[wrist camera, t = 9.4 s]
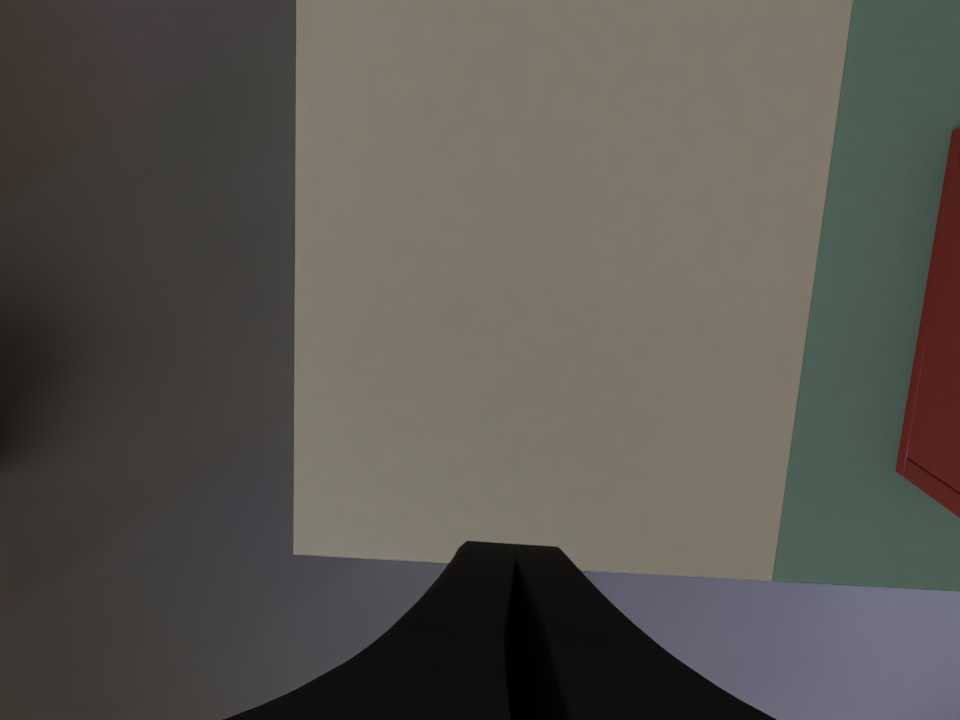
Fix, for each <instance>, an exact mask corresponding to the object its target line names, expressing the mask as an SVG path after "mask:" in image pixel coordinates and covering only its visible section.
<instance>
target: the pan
mask: <svg viewBox="0 0 960 720" xmlns="http://www.w3.org/2000/svg"><path fill="white" fill-rule="evenodd" d="M896 472H897V473H898V474H900V475H901V476H903V477H904V478H905V479H907V480H908V481H909V482H911V483H912V484H913V485H915V486H916V487H918V488H919V489H920V490H922V491H923V492H924V493H926V494H927V495H929V496H930V497H931V498H933V499H934V500H935V501H937V502H938V503H939V504H941V505H942V506H944V507H945V508H946V509H948V510H949V511H950V512H952V513H953V514H955V515H956V516H957V517H959V518H960V129H954V130H952V134H951V140H950V146H949V152H948V158H947V164H946V170H945V176H944V182H943V188H942V194H941V200H940V206H939V212H938V218H937V224H936V230H935V236H934V242H933V248H932V254H931V260H930V266H929V272H928V278H927V284H926V290H925V296H924V302H923V308H922V314H921V320H920V326H919V332H918V338H917V344H916V350H915V356H914V362H913V368H912V374H911V380H910V386H909V392H908V398H907V404H906V410H905V416H904V422H903V428H902V434H901V440H900V446H899V452H898V458H897V464H896Z"/></svg>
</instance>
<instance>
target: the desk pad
mask: <svg viewBox="0 0 960 720" xmlns="http://www.w3.org/2000/svg"><path fill="white" fill-rule="evenodd" d="M954 129H960V0H296V182H295V379H294V554H295V555H313V556H331V557H349V558H367V559H385V560H403V561H421V562H439V563H450V562H451V560H452V559H453V557H454V555H455V554H456V552H457V550H458V548H459V547H460V546H461V545H463V544H464V543H465V542H466V541H479V542H494V543H509V544H525V545H540V546H555V547H559V548H560V549H561V550H562V551H563V552H564V553H565V554H566V555H567V556H568V558H569V559H570V560H571V561H572V562H573V563H574V564H575V565H576V566H577V568H578V569H579V570H582V571H600V572H618V573H636V574H654V575H672V576H690V577H708V578H726V579H744V580H762V581H780V582H798V583H816V584H833V585H851V586H869V587H887V588H905V589H923V590H941V591H959V592H960V518H959V517H957V516H956V515H955V514H953V513H952V512H950V511H949V510H948V509H946V508H945V507H944V506H942V505H941V504H939V503H938V502H937V501H935V500H934V499H933V498H931V497H930V496H929V495H927V494H926V493H924V492H923V491H922V490H920V489H919V488H918V487H916V486H915V485H913V484H912V483H911V482H909V481H908V480H907V479H905V478H904V477H903V476H901V475H900V474H898V473H897V472H896V464H897V458H898V452H899V446H900V440H901V434H902V428H903V422H904V416H905V410H906V404H907V398H908V392H909V386H910V380H911V374H912V368H913V362H914V356H915V350H916V344H917V338H918V332H919V326H920V320H921V314H922V308H923V302H924V296H925V290H926V284H927V278H928V272H929V266H930V260H931V254H932V248H933V242H934V236H935V230H936V224H937V218H938V212H939V206H940V200H941V194H942V188H943V182H944V176H945V170H946V164H947V158H948V152H949V146H950V140H951V134H952V130H954Z"/></svg>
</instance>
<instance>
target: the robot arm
mask: <svg viewBox="0 0 960 720" xmlns="http://www.w3.org/2000/svg"><path fill="white" fill-rule="evenodd" d="M223 720H776V719H774V718H772V717H771V716H769V715H767V714H765V713H763V712H761V711H759V710H758V709H756V708H754V707H752V706H750V705H748V704H746V703H745V702H743V701H741V700H739V699H738V698H736V697H734V696H733V695H731V694H729V693H727V692H726V691H724V690H722V689H721V688H719V687H718V686H716V685H714V684H713V683H712V682H710V681H709V680H707V679H706V678H704V677H703V676H701V675H700V674H698V673H697V672H695V671H694V670H692V669H691V668H689V667H688V666H686V665H685V664H683V663H682V662H681V661H679V660H678V659H676V658H675V657H674V656H672V655H671V654H670V653H668V652H667V651H666V650H665V649H663V648H662V647H661V646H659V645H658V644H657V643H656V642H655V641H654V640H652V639H651V638H650V637H649V636H648V635H646V634H645V633H644V632H643V631H642V630H640V629H639V628H638V627H637V626H636V625H635V624H633V623H632V622H631V621H630V620H629V619H628V618H627V617H626V616H625V615H624V614H622V613H621V612H620V611H619V610H618V609H617V608H616V607H615V606H614V605H613V604H612V603H611V602H610V601H609V600H608V599H607V598H606V597H605V596H604V595H603V594H602V593H601V592H600V591H599V590H598V589H597V588H596V587H595V586H594V585H593V584H592V583H591V582H590V581H589V580H588V578H587V577H586V576H585V575H584V574H583V573H582V572H581V571H580V570H579V569H578V568H577V566H576V565H575V564H574V563H573V562H572V561H571V560H570V559H569V558H568V556H567V555H566V554H565V553H564V552H563V551H562V550H561V549H560V548H559V547H555V546H540V545H525V544H509V543H494V542H479V541H466V542H465V543H464V544H463V545H461V546H460V547H459V548H458V550H457V552H456V554H455V555H454V557H453V559H452V560H451V562H450V563H449V564H448V566H447V567H446V568H445V570H444V571H443V572H442V574H441V575H440V576H439V578H438V579H437V580H436V581H435V582H434V583H433V585H432V586H431V587H430V588H429V589H428V590H427V592H426V593H425V594H424V595H423V596H422V597H421V598H420V600H419V601H418V602H417V603H416V604H415V605H414V606H413V607H412V608H411V609H410V610H409V611H408V612H407V613H406V614H405V615H403V616H402V617H401V618H400V619H399V620H398V621H397V622H396V623H395V624H394V625H393V626H392V627H391V628H390V629H389V630H388V631H387V632H385V633H384V634H383V635H382V636H381V637H379V638H378V639H377V640H376V641H375V642H373V643H372V644H371V645H370V646H368V647H367V648H365V649H364V650H363V651H361V652H360V653H358V654H357V655H356V656H354V657H353V658H351V659H350V660H348V661H346V662H345V663H343V664H341V665H340V666H338V667H336V668H334V669H332V670H331V671H329V672H327V673H325V674H323V675H322V676H320V677H318V678H316V679H314V680H312V681H311V682H309V683H307V684H305V685H303V686H302V687H300V688H298V689H296V690H294V691H292V692H290V693H288V694H286V695H283V696H281V697H279V698H276V699H274V700H272V701H270V702H267V703H265V704H263V705H260V706H258V707H255V708H253V709H250V710H247V711H245V712H242V713H240V714H237V715H234V716H232V717H229V718H226V719H223Z"/></svg>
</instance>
